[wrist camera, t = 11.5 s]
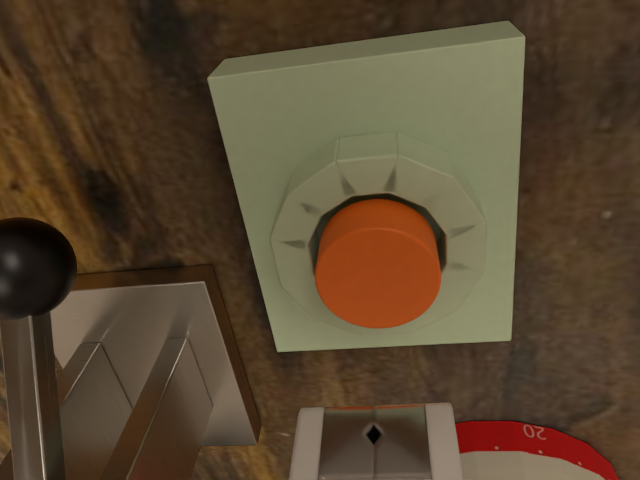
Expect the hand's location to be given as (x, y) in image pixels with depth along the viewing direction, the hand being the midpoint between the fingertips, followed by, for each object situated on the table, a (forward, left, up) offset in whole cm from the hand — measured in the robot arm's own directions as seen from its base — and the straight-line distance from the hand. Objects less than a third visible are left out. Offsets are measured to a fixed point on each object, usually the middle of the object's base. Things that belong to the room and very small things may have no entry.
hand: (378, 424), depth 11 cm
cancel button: (0, 0, -7) cm, 7 cm away
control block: (0, 0, -11) cm, 11 cm away
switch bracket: (+8, -11, -11) cm, 17 cm away
